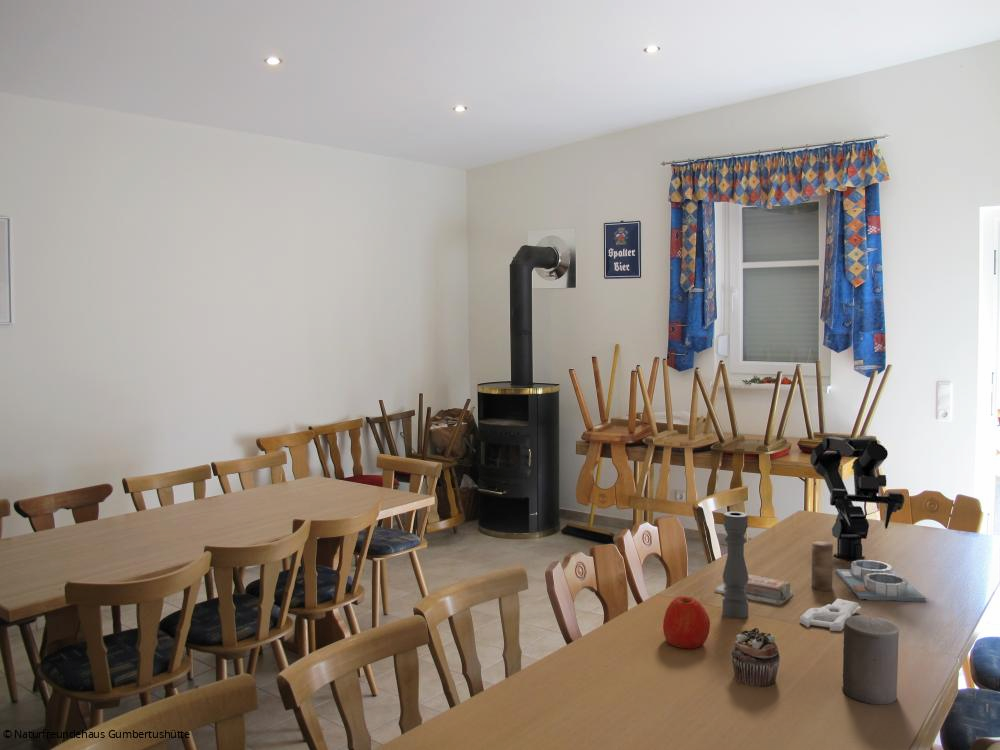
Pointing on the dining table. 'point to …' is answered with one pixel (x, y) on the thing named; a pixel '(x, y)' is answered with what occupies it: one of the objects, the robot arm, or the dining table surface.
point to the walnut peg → (822, 565)
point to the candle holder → (735, 566)
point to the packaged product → (764, 589)
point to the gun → (830, 615)
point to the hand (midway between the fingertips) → (868, 526)
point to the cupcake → (755, 658)
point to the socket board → (879, 597)
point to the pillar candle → (870, 659)
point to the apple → (686, 623)
